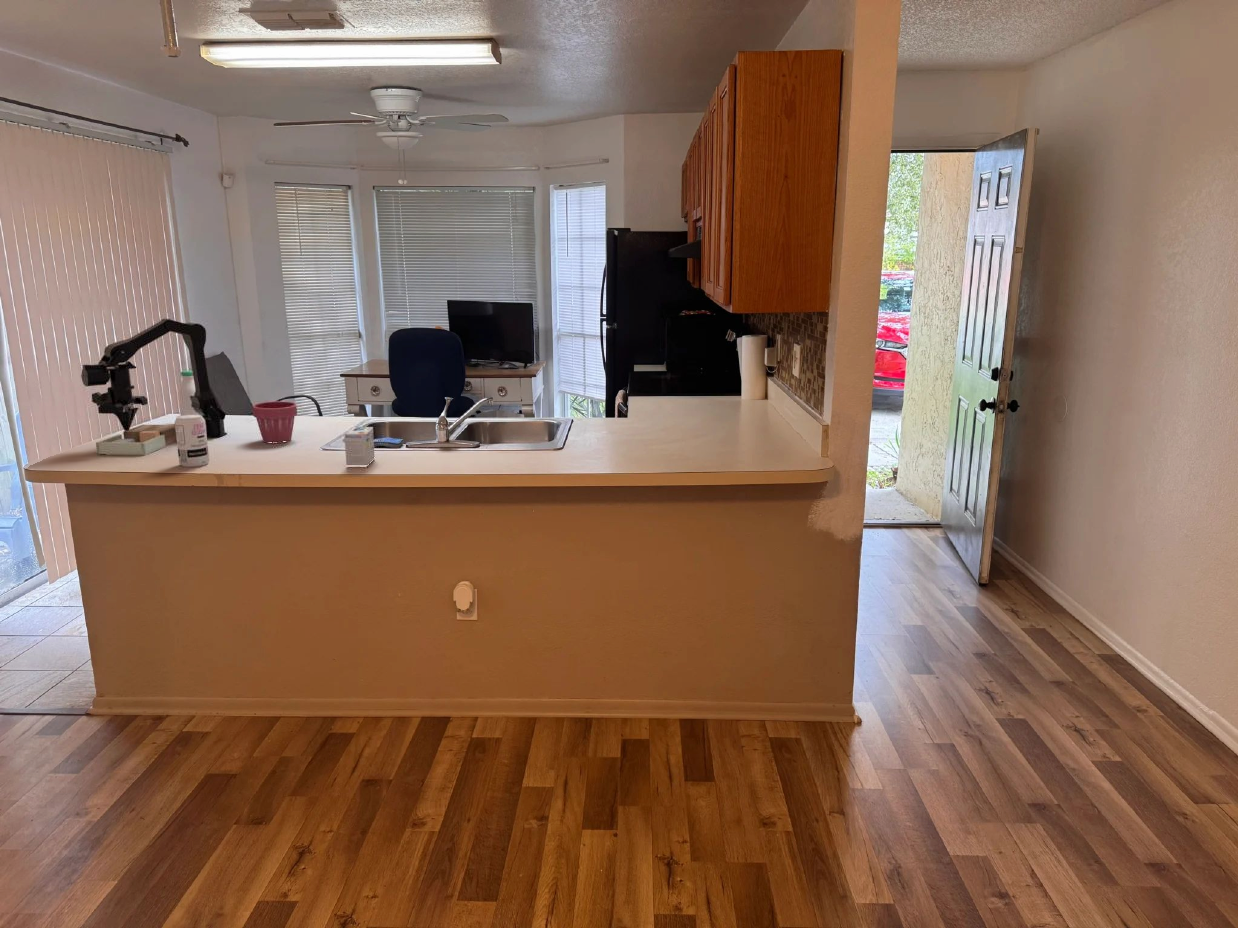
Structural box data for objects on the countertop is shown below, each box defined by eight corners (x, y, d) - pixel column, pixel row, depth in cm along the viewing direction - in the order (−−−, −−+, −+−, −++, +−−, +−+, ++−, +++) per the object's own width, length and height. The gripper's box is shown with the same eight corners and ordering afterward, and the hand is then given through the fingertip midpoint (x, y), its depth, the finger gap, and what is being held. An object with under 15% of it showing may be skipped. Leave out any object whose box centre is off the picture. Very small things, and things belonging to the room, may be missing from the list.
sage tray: (165, 446, 282) (164, 434, 281) (144, 455, 269) (143, 443, 268) (120, 446, 281) (119, 434, 280) (97, 455, 269) (95, 442, 268)
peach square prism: (159, 430, 280) (154, 432, 277) (161, 445, 281) (156, 447, 278) (144, 430, 279) (139, 432, 276) (145, 445, 281) (141, 447, 278)
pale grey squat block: (126, 442, 271) (128, 451, 272) (134, 438, 276) (135, 447, 277) (110, 442, 271) (112, 451, 272) (118, 439, 276) (119, 447, 277)
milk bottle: (195, 425, 316) (189, 372, 311) (177, 424, 317) (171, 372, 313) (208, 422, 323) (203, 370, 318) (191, 421, 325) (185, 369, 320)
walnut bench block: (181, 439, 293) (180, 425, 292) (164, 446, 282) (162, 431, 280) (144, 438, 293) (142, 424, 292) (125, 446, 281) (123, 431, 280)
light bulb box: (353, 460, 267) (351, 426, 264) (375, 459, 268) (373, 426, 265) (345, 468, 257) (343, 433, 254) (368, 468, 257) (366, 433, 255)
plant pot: (301, 443, 290) (298, 406, 286) (257, 446, 283) (253, 409, 280) (296, 435, 302) (294, 400, 299) (254, 438, 296) (251, 402, 293)
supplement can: (186, 461, 262) (180, 414, 259) (213, 461, 263) (208, 413, 259) (174, 467, 254) (169, 418, 251) (203, 467, 255) (198, 418, 251)
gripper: (112, 379, 282) (118, 424, 286) (78, 387, 264) (84, 436, 268) (145, 379, 282) (151, 425, 286) (113, 387, 264) (120, 436, 268)
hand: (126, 430), depth 277 cm, fingers closed
